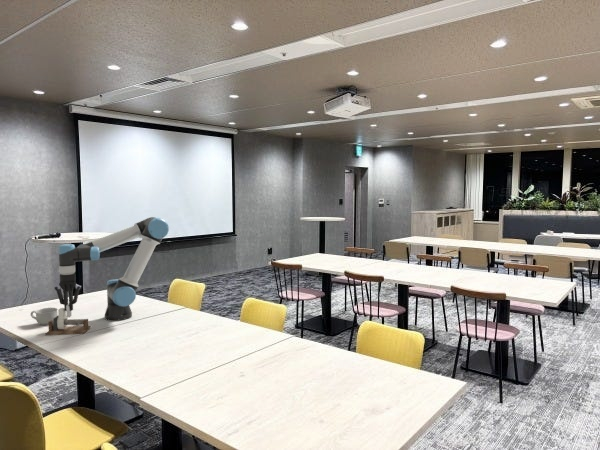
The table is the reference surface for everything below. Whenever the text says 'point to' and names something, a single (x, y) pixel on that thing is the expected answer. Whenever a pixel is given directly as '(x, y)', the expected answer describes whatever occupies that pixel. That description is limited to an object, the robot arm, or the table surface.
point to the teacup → (45, 315)
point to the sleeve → (61, 318)
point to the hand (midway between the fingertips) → (69, 316)
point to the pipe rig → (69, 327)
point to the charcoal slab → (55, 323)
